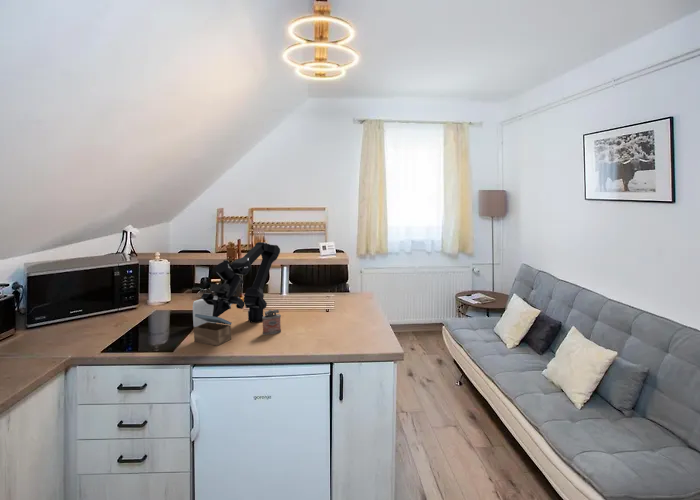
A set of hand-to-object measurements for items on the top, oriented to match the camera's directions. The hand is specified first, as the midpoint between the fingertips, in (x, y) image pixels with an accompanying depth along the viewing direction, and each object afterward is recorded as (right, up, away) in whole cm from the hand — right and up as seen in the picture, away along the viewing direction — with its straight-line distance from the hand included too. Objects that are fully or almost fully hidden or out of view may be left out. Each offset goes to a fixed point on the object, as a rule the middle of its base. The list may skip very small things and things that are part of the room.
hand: (213, 318), depth 173 cm
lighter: (+22, -8, +10) cm, 26 cm away
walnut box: (0, -9, 0) cm, 9 cm away
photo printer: (-11, -7, +21) cm, 24 cm away
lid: (0, -1, 0) cm, 1 cm away
